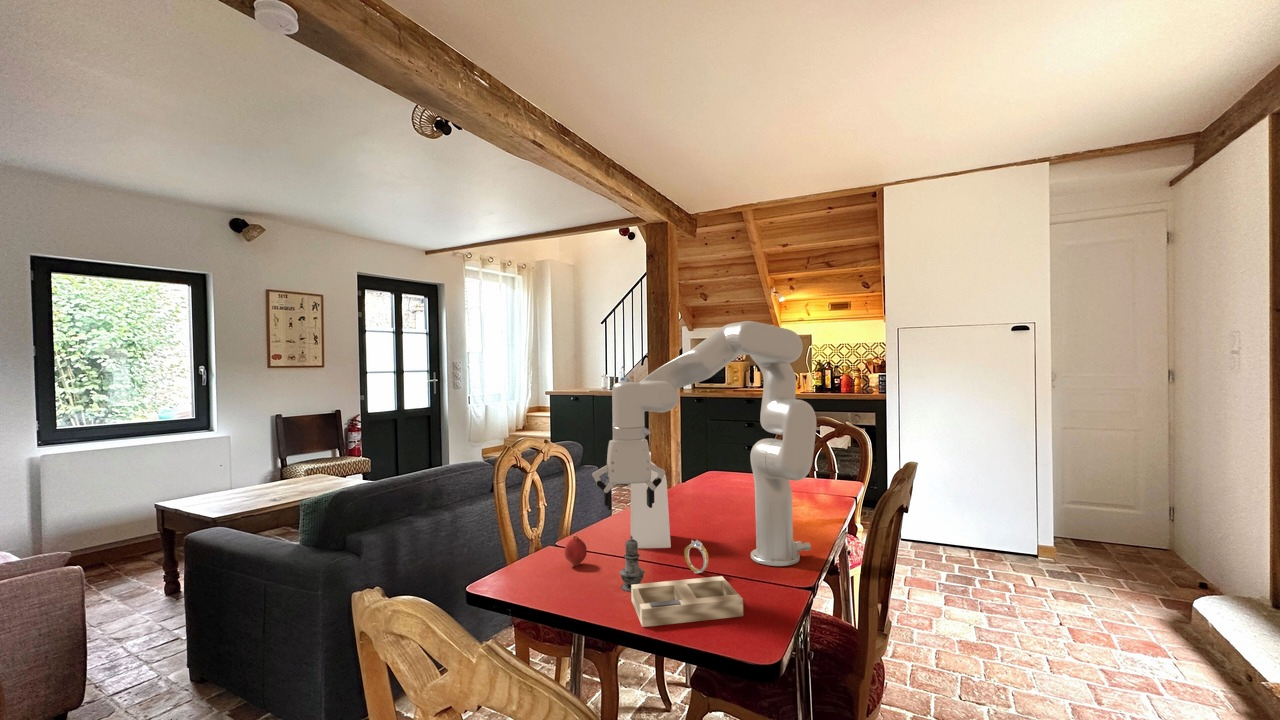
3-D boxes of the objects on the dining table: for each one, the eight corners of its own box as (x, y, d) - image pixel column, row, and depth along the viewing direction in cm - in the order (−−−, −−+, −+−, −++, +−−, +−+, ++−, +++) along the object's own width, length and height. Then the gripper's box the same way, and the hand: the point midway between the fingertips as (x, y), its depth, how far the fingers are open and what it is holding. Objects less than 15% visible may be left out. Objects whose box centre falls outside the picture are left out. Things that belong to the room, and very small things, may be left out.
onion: (565, 562, 148) (564, 532, 148) (587, 561, 149) (586, 531, 149) (564, 570, 142) (563, 538, 143) (586, 568, 143) (586, 537, 143)
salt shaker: (642, 592, 127) (641, 539, 127) (617, 591, 128) (616, 539, 128) (647, 583, 132) (646, 532, 133) (623, 581, 134) (622, 531, 134)
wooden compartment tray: (722, 591, 126) (722, 575, 126) (743, 616, 113) (742, 597, 114) (631, 600, 122) (631, 583, 123) (642, 627, 110) (641, 608, 110)
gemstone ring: (711, 575, 136) (710, 542, 136) (701, 578, 134) (700, 545, 134) (691, 567, 142) (690, 536, 142) (682, 570, 140) (681, 539, 140)
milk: (670, 547, 158) (668, 456, 159) (630, 548, 159) (628, 457, 159) (669, 535, 170) (667, 450, 171) (631, 535, 171) (629, 451, 171)
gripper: (661, 431, 136) (661, 502, 136) (590, 434, 133) (591, 506, 132) (668, 435, 129) (669, 509, 128) (593, 437, 126) (594, 513, 125)
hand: (629, 507), depth 130 cm, fingers open, 9 cm apart
